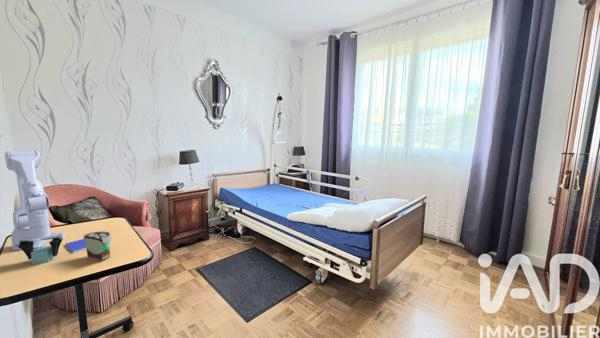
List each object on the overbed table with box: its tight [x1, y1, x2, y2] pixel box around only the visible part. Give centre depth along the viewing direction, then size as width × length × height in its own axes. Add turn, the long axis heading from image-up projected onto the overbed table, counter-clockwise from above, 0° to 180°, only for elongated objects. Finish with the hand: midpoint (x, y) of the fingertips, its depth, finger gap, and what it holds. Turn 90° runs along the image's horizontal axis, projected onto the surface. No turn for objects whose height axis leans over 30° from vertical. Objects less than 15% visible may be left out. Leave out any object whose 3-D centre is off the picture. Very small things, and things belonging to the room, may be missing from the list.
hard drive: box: [64, 238, 87, 254], centre depth 116 cm, size 2×8×12 cm
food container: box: [83, 230, 113, 262], centre depth 107 cm, size 12×6×10 cm, turn 71°
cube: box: [30, 245, 55, 265], centre depth 102 cm, size 5×5×5 cm
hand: (43, 256), depth 103 cm, fingers open, 7 cm apart
